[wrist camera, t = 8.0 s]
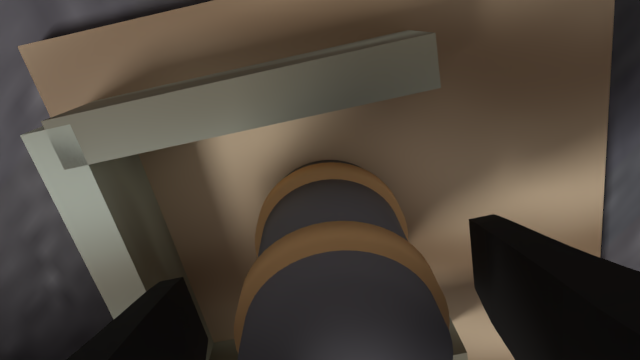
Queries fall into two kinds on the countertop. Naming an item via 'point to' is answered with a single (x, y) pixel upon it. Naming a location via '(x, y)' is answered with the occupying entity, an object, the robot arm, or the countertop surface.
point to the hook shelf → (322, 134)
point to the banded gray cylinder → (338, 275)
